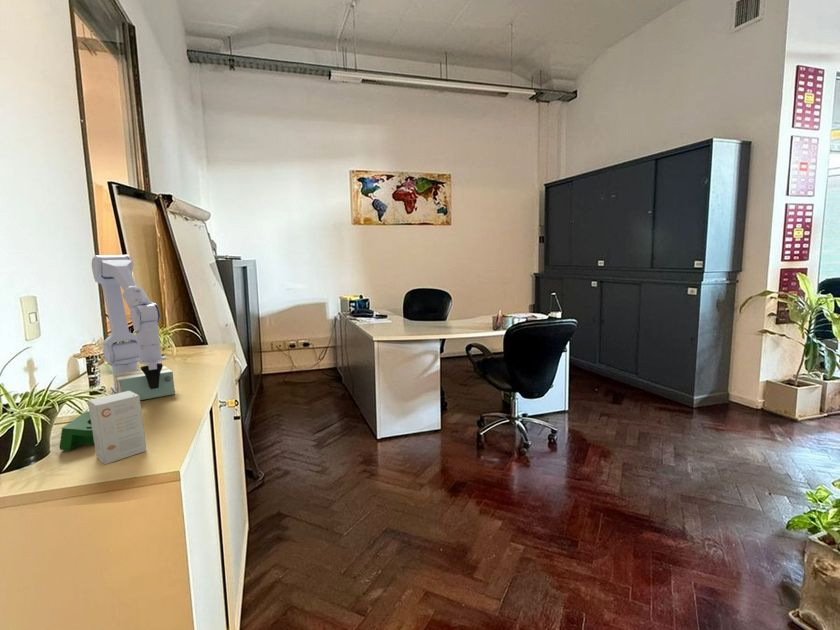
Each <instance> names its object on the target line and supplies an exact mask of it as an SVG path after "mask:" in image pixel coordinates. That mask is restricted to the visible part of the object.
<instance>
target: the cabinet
mask: <svg viewBox="0 0 840 630" xmlns="http://www.w3.org/2000/svg"><path fill="white" fill-rule="evenodd" d="M168 371H172V370H171V369H170V368H169V367H167V366H165V365H163V367H162V370H161V372H168ZM161 372H160V373H161ZM142 375H145V374H144V373H143V371H142V370H141V369H139V370H137V371H131V372H125V373H119V374H114V377H115V384H116V392H117V393H121V392H122V390H121V383H120V379H123V378H129V377H136V376H142ZM117 393H116V394H117Z"/></svg>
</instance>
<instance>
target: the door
mask: <svg viewBox="0 0 840 630" xmlns="http://www.w3.org/2000/svg"><path fill="white" fill-rule="evenodd" d="M120 383H121V390H122V392H126V391H131V392H133V393H135V394H137V395H139V397H140V401H143V400H148V399H155V398H159V397H165V396H170V395H175V394H176V392H175V382H174V373H173V370H171V371H168V372H161V373H160V377H159V387H158V388H156V389H150V387H149V384H148V381H147V378H146V376H145V375H142V376H136V377H129V378H123V379H120Z"/></svg>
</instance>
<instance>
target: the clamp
mask: <svg viewBox="0 0 840 630" xmlns="http://www.w3.org/2000/svg"><path fill="white" fill-rule="evenodd" d="M59 440H60V441H59V450H60V451H71V452H72V451H73V450H74V449H76V448H77V447H78V446H79V445H90V446H95V444H94V438H93V431H92V425H91V418H90V412H89V410H88V411H86V410H85V411H84V412H83V413H81V414H80V415H79V416H77V417H76V418H74V419H73V420H71V421H70V422H69V423H67V424H66V425H64V426H63V427H62V428H61V435H60V439H59Z"/></svg>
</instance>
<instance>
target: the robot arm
mask: <svg viewBox="0 0 840 630" xmlns="http://www.w3.org/2000/svg"><path fill="white" fill-rule="evenodd" d="M91 270H92V275H93V279H94V282H95V283H98V284H100V285H101V288H102V291H103V297H104V298H103V299H104V301H105V307H106V312H107V318H108V322H109V328H110V335H108V336H107V337H106V338H105V339H104V340H103V342H102V348H103V350H102V353H103V359H104V361H105V362H106V363H107V364H109V365H111V369H112V370H111V371H112V377H113V378H112V379H113V385H111V389H112V390H113V392H114V394H117V392H116V384H115V377H114V374H119V373H125V372H131V371H137V370H142V371H143V373H144V374H145V376H146V378H147V381H148V384H149V387H150V389H156V388H158V387H159V377H160V372H161V370H162V367H163V366H164V365H163V363H161V362H162V361H164V360H167V356H165V355H164V356H162V349H161V340H160V332H159V331H160V330H159V324H158V323H159V322H160V320H161V311H160V307H159V306H158V304H157V303H155V302H154V301H150V298H149V297H148V295H147V294H146V293H147V292H145V290H144V288H142V287H141V286H137V284H136V281H135V279H134V278H135V277H134V276H133V274H132V273H133V270H134V263H133V260H132V258H131V256H130V255H128V254H117V255H115V254H114V255H112V254H111V255H99V254H97V255H96V254H95V255H94V256H93V257H92V259H91ZM122 290H123V292H122ZM124 301H125V303H126V305H127V307H128V309H129V310H130V314H129V315H130V320H131V323H132V325H133V330H134V332H136V333H132V332H130V329H129V324H128V319H127V314H126V309H125V303H124ZM125 341H126V342H125ZM119 342H120V343H119ZM139 364H140V365H144V366H140V369H139Z"/></svg>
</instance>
